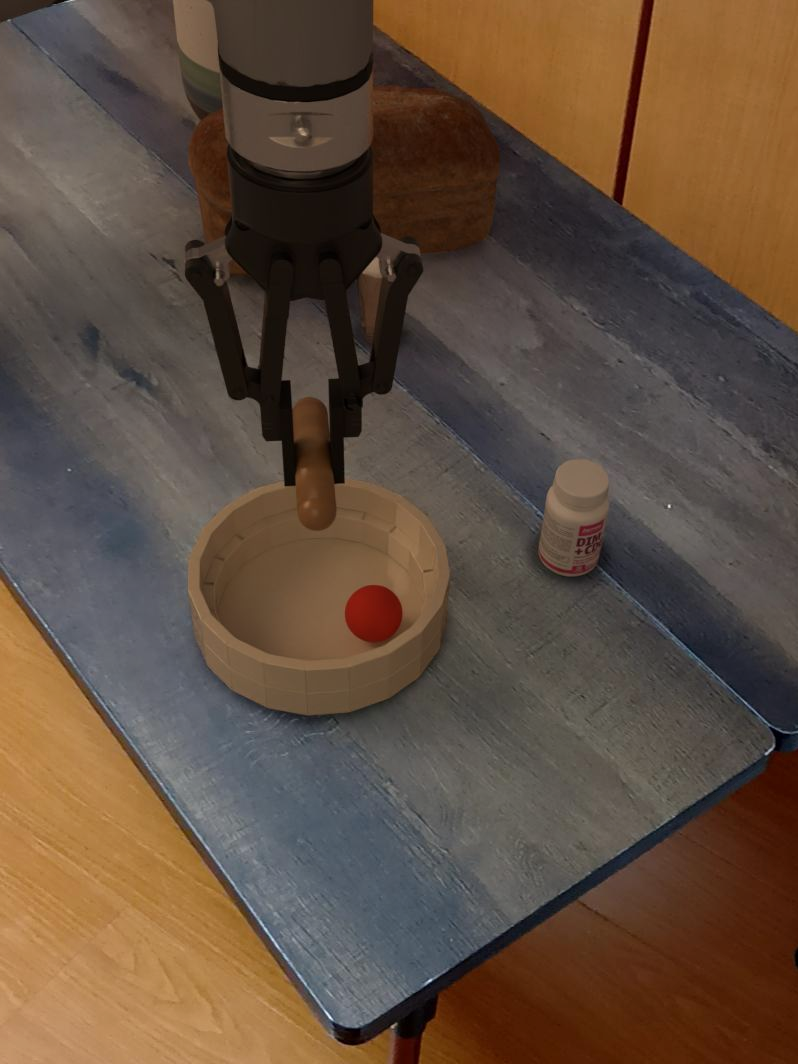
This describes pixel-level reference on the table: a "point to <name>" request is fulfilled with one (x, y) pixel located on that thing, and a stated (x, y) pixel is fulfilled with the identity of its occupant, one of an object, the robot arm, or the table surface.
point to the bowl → (316, 597)
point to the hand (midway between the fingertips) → (313, 469)
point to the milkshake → (369, 298)
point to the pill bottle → (575, 518)
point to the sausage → (313, 465)
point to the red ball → (373, 613)
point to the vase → (198, 55)
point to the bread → (391, 170)
